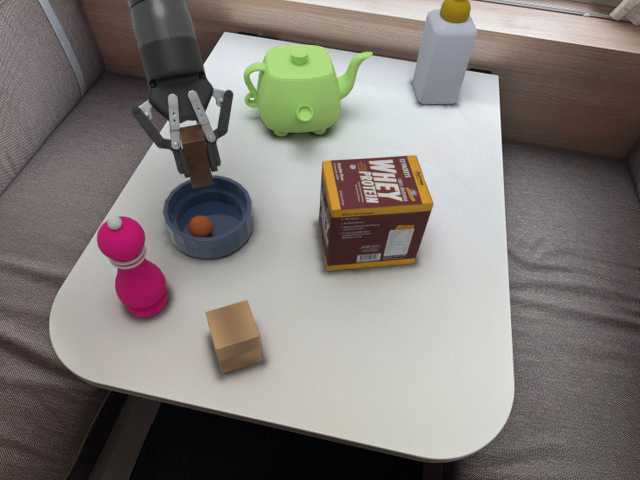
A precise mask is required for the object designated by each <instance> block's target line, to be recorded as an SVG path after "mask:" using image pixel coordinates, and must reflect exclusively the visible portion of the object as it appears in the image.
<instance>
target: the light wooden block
mask: <svg viewBox="0 0 640 480" xmlns="http://www.w3.org/2000/svg"><path fill="white" fill-rule="evenodd" d="M204 313H205V317H206V321H207V324H208V329H209V334H210V336H211V340H212V344H213V347H214V350H215V354H216V358H217V361H218V365H219V369H220V372H221V374H222V375H225V374H227V373H230V372H234V371H237V370H240V369H243V368H246V367H249V366H252V365H255V364H258V363H261V362H263V357H262V356H263V355H262V347H261V346H262V345H261V337H260V333H259V330H258V327H257V325H256V321H255V319H254V316H253V312H252V309H251V306H250V303H249V300H248V299H246V300H242V301H239V302H235V303H232V304H229V305H224V306H223V307H222V306H221V307H219V308H218V307H217V308H215V309H212V310H208V311H205V312H204Z"/></svg>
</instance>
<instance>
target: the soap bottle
mask: <svg viewBox="0 0 640 480" xmlns="http://www.w3.org/2000/svg"><path fill="white" fill-rule="evenodd" d="M471 10H472V7H471V2H470V1H469V0H443V1H442V4H441V6H440V8H436V9H432V10H429V11H428V13H427V14H426V17H425V22H424V27H423V31H422V35H421V41H420V45H419V50H418V55H417V58H416V64H415V68H414V73H413V76H412V77H413V78H412V83H411V84H412V86H413V89H414V93H415V96H416V100H417V101H418V103H420V104H423V105H451V104H456V103H457V102H458V98H459V95H460V93H461V89H462V86H463V82H464V80H465V79H464V78H465V75H466V74H467V73H466V72H467V69H468V66H469V63H470V59H471V56H472V53H473V49H474V47H475V43H476V40H477V36H478V29H477V27H476V25H475V23H474V20H473V18H472V16H471V14H470V13H471Z"/></svg>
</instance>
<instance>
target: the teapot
mask: <svg viewBox="0 0 640 480" xmlns="http://www.w3.org/2000/svg"><path fill="white" fill-rule="evenodd" d="M373 54H374V53H373V51H363V52H360V53H357V54H356V55H354V56H353V57H352V58H351V60H350V62H349V64H348V66H347V69H346V71H345V72H344V74H342V75H341V76H339V77H338V76H337V74H336V73H337V72H336V69H335V66H334V64H333V60H332V58H331V56H330V53H329V51H328V50H327V48H325V47H323V46H320V45H313V44H288V45H279V46H275V47H272V48H269V49H268V50H267V51H266V53H265V55H264V56H263V60H262V61H261V62H259V61H257V62H253V63H251V64H249V65H248V66H247V67H246V68H245V69H244V72H243V81H244V84H245V86H246V88H247V90H248V91H249V92H248V93H246V94H245V96H244V104H245V105H246V106H247V107H249V108H252V109H253V108H254V109H255V108H257V110H258V114H259V117H260V119H261V121H262V122H263V124H264V125H265V126H266V127H267V128H268V129H269V130H272V131H273V134H274V135H275V136H278V137H286V136H288V135H289V134H290V133H292V134H293V133H295V134H302V133H311V132H312V133H313V134H316V135H324V134H325V133H326V132H327V129H329V128H331V127H332V126H333V125H334V124H335V123H336V122H337V121H338V119H339V118H340V115H341V108H342V107H341V100H343V99H345V98H347V96H348V95H350V93H351V92H352V90H353V89H354V86H355V83H356V78H357V75H358V72H359V68H360V67H361V65H362V63H363V62H364V61H365V60H367V59H368V58H370V57H371V56H372V55H373ZM255 72H258V77H257V84H256V85H257V86H256V87H255V86H254V84H253V82H252V80H251V77H250V75H251V74H253V73H255ZM251 98H253V99H251Z"/></svg>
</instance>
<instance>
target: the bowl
mask: <svg viewBox="0 0 640 480" xmlns="http://www.w3.org/2000/svg"><path fill="white" fill-rule="evenodd" d="M212 178H213V185H208V186H203V187H199V188H194V189H193V188H192V184H191V180H190V178H189V179H186V180H185V181H183V182H180V183H179V184H178V185H176V187H174V189H172V190H171V191H170V193H169V194H168V196H167V197H166V199H165V200H164V203H163V204H164V205H163V209H162V214H163V218H164V222H165V226H166V228H167V229H166V230H167V231H168V235H169V238H170V241H171V242H172V244H173V245H174V247H176V249H177V250H179V251H180V252H181V253H184V254H185V255H187V256H189V257H193V258H197V259H201V260H202V259H218V258H221V257H226V256H228V255H231V254H232V253H234V252H236V251H238V250H240V249H241V248H242V247H243V246H244V244H246V243H247V241H248V240H249V239H250V236H251V234H252V233H253V229H254V212H253V204H252V203H253V201H252V198H251V195H250V194H249V191H248V190H247V189H246V188H245V187H244V186H243V185H242V183H240V182H238V181H236V180H234V179H233V178H231V177H226V176H223V175H218V174H214V175H213V174H212ZM199 215H202V216H206V217H207V218H209V219H210V220H211V222H212V224H213V230H212V233H211V234H210V236H208V237H194V236H192V235H191V234H190V232H189V228H188V227H189V223H190V221H191V219H192V218H194V217H196V216H199Z"/></svg>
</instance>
